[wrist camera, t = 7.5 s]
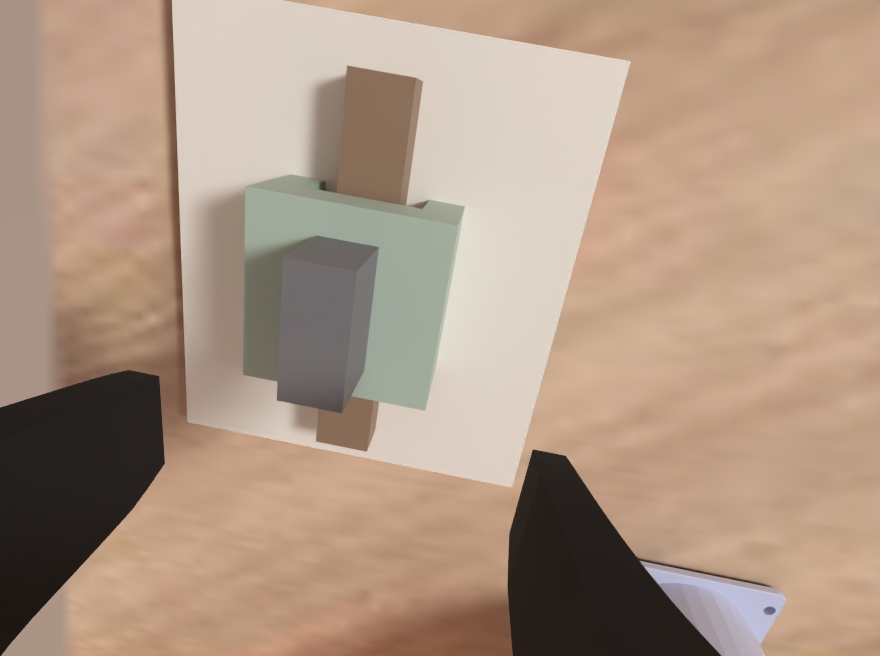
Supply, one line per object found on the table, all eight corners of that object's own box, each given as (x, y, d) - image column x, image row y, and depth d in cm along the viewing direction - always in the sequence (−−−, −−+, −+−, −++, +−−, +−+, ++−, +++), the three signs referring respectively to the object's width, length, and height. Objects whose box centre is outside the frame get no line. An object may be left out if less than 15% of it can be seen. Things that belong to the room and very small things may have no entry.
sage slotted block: (436, 363, 19) (413, 458, 14) (283, 333, 20) (201, 416, 14) (465, 206, 17) (450, 246, 12) (290, 174, 17) (196, 199, 12)
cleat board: (511, 475, 22) (513, 513, 20) (197, 412, 22) (166, 442, 20) (624, 64, 16) (644, 55, 14) (186, -13, 16) (139, -34, 14)
